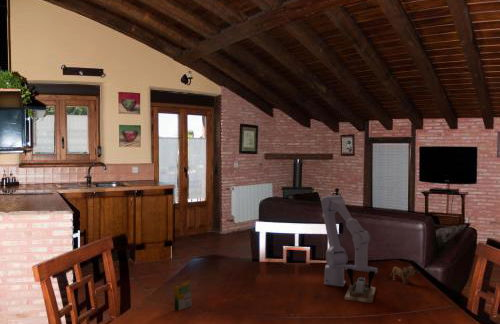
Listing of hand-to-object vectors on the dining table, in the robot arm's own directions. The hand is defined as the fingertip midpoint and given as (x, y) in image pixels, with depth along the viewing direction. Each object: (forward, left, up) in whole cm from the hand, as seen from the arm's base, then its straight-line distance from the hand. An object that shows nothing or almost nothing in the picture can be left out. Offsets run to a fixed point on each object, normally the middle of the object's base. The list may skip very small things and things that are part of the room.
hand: (360, 286), depth 197 cm
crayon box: (-69, -44, -4) cm, 82 cm away
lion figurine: (+18, +27, -4) cm, 32 cm away
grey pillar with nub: (0, -1, -2) cm, 2 cm away
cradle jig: (0, 0, -4) cm, 4 cm away
